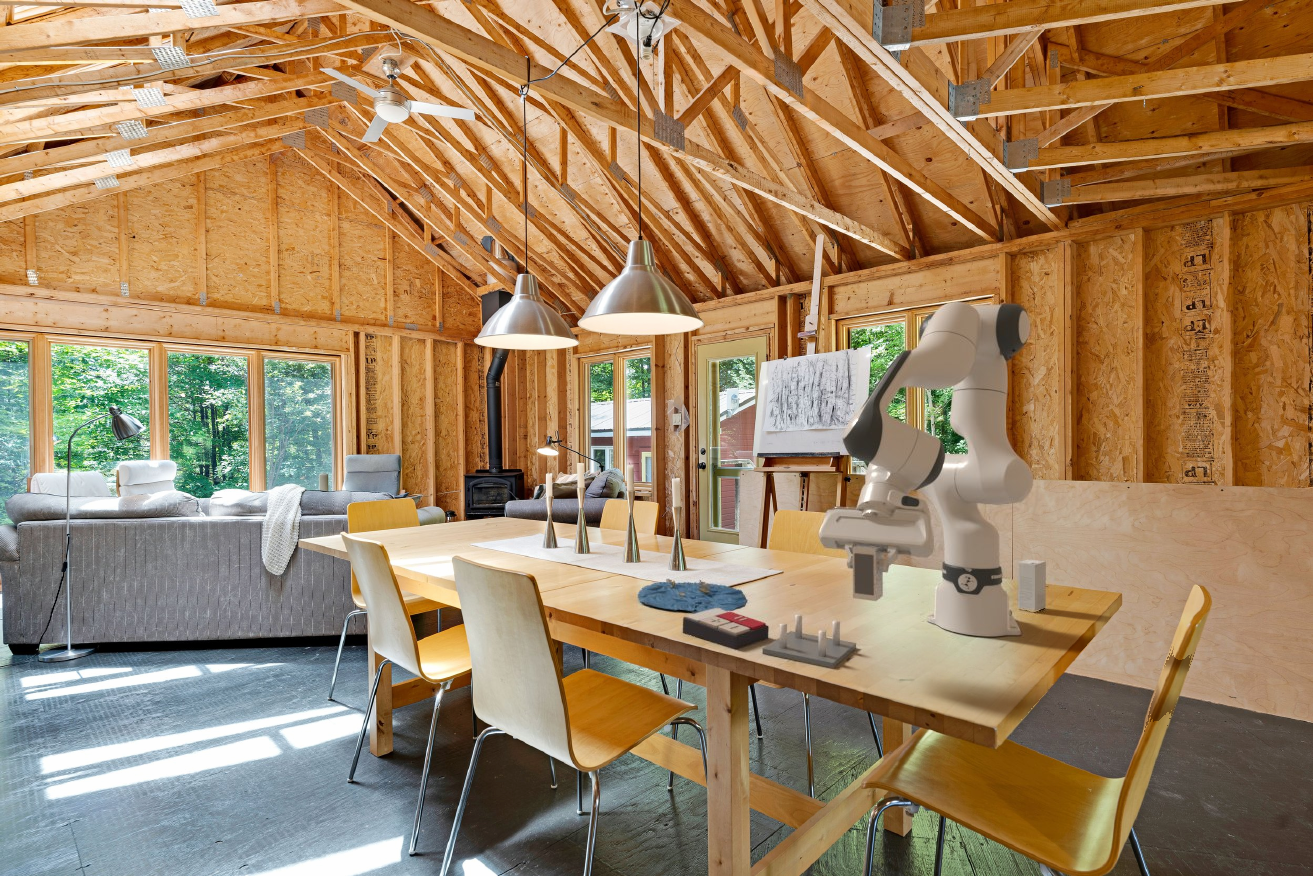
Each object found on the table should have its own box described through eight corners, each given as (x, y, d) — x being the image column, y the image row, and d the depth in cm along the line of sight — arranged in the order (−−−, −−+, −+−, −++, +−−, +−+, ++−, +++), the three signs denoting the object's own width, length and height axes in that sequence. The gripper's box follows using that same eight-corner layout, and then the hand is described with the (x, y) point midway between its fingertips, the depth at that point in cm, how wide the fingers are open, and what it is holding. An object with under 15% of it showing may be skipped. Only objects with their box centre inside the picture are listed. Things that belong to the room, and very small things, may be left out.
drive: (860, 593, 113) (860, 544, 113) (882, 596, 111) (882, 546, 111) (852, 598, 109) (852, 547, 109) (875, 601, 107) (874, 549, 107)
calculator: (735, 633, 122) (682, 613, 134) (735, 654, 122) (681, 633, 134) (769, 622, 130) (716, 605, 141) (769, 642, 130) (715, 623, 141)
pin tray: (790, 635, 132) (790, 610, 132) (856, 648, 124) (856, 620, 124) (762, 653, 120) (762, 625, 120) (832, 668, 112) (832, 638, 112)
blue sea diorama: (771, 604, 165) (772, 584, 165) (700, 626, 143) (701, 603, 143) (688, 582, 185) (689, 565, 185) (615, 598, 163) (615, 579, 163)
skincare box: (1027, 606, 157) (1027, 558, 157) (1047, 609, 153) (1046, 561, 153) (1016, 609, 153) (1016, 561, 153) (1036, 613, 150) (1036, 564, 150)
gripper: (824, 496, 122) (806, 552, 114) (935, 501, 110) (924, 564, 102) (831, 516, 126) (815, 572, 117) (940, 523, 114) (929, 586, 106)
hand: (866, 568), depth 110 cm, fingers closed on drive, 4 cm apart
